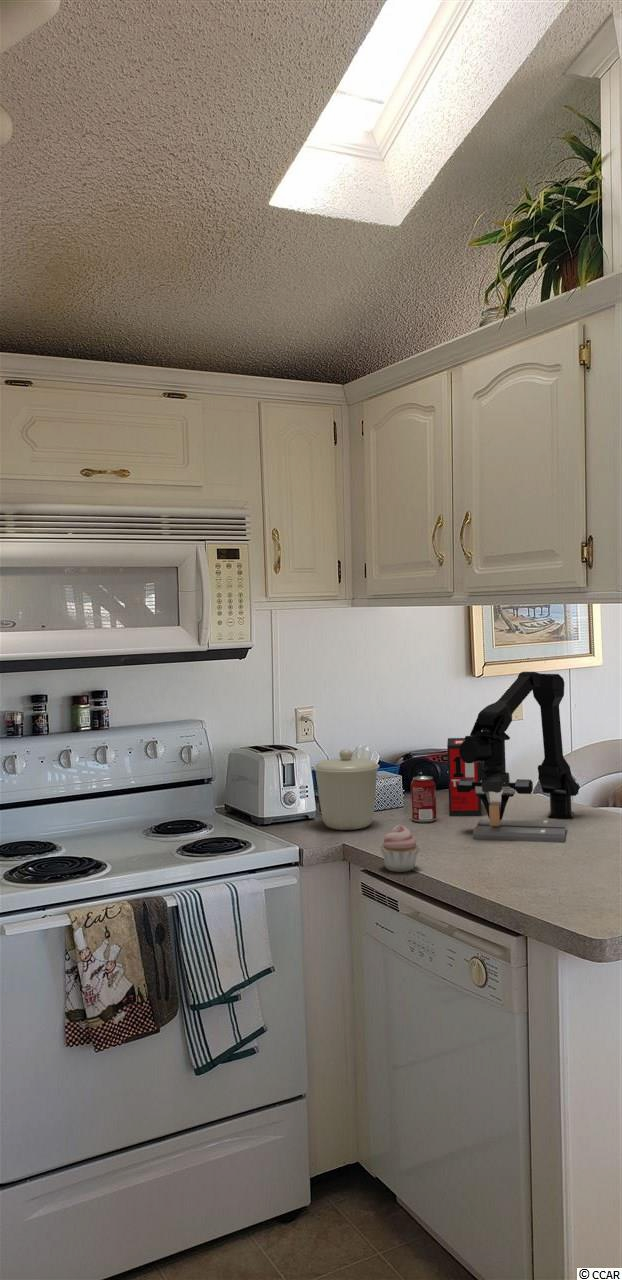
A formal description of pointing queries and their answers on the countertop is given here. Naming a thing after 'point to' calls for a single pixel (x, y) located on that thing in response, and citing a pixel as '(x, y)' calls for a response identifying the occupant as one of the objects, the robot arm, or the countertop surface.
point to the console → (521, 831)
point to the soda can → (423, 799)
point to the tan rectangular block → (494, 814)
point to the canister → (347, 791)
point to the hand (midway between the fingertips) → (495, 819)
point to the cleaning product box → (456, 770)
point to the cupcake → (399, 850)
